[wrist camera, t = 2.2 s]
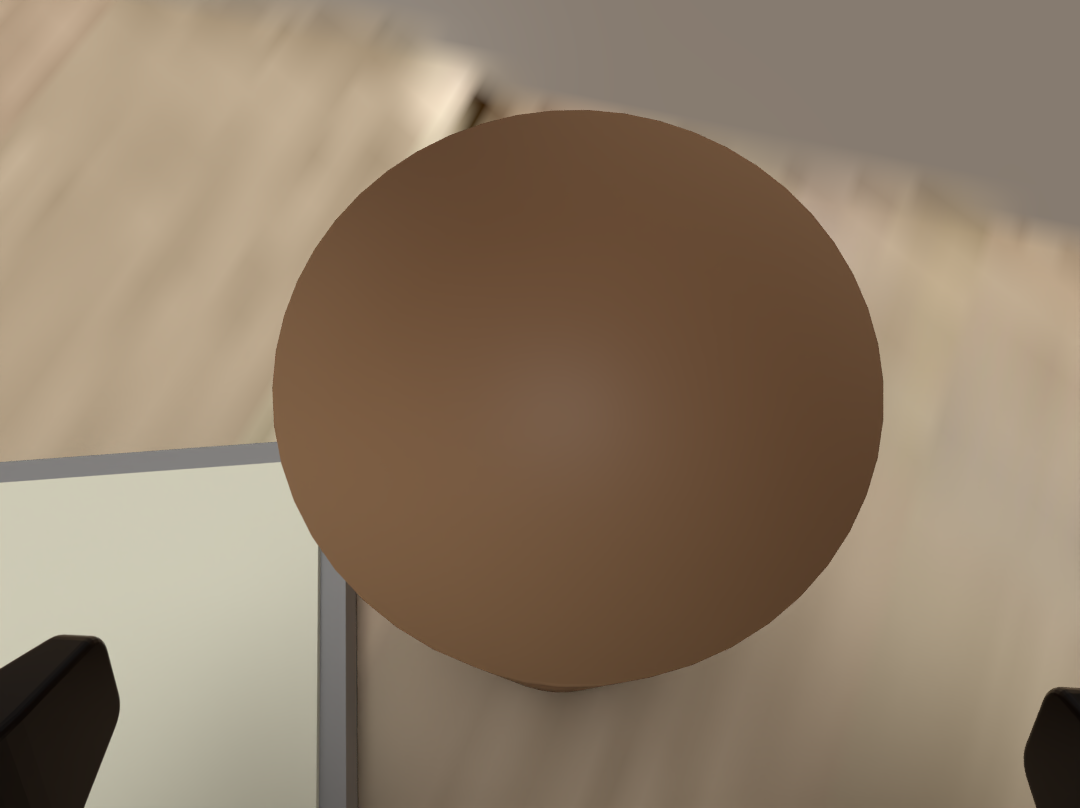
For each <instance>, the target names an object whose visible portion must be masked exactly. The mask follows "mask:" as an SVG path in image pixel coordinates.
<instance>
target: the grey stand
mask: <svg viewBox="0 0 1080 808" xmlns="http://www.w3.org/2000/svg"><path fill="white" fill-rule="evenodd" d="M63 634H67V635H87V636H96V637H98V638H100V639H101V640H102V641H103V642H104V643H105V645H106V647H107V650H108V654H109V658H110V662H111V666H112V670H113V673H114V677H115V681H116V685H117V689H118V693H119V698H120V712H119V717H118V721H117V724H116V727H115V730H114V732H113V735H112V738H111V740H110V743H109V745H108V748H107V750H106V753H105V756H104V758H103V761H102V763H101V766H100V768H99V771H98V773H97V776H96V779H95V781H94V784H93V786H92V789H91V791H90V794H89V797H88V799H87V802H86V804H85V807H84V808H358V789H357V636H356V592H355V591H354V589H353V588H352V587H351V586H350V585H349V584H348V583H347V582H346V581H345V580H344V579H343V578H342V577H341V576H340V574H339V573H338V572H337V571H336V570H335V569H334V567H333V566H332V565H331V563H330V562H329V560H328V559H327V557H326V556H325V554H324V553H323V552H322V550H321V549H320V547H319V546H318V544H317V543H316V542H315V540H314V539H313V537H312V536H311V534H310V532H309V530H308V528H307V526H306V524H305V522H304V520H303V518H302V516H301V514H300V512H299V510H298V508H297V506H296V504H295V502H294V500H293V497H292V494H291V491H290V488H289V485H288V482H287V479H286V476H285V473H284V470H283V467H282V464H281V460H280V454H279V449H278V444H277V442H268V443H255V444H241V445H228V446H214V447H200V448H187V449H173V450H159V451H146V452H132V453H118V454H105V455H91V456H78V457H64V458H50V459H37V460H23V461H9V462H0V668H2V667H3V666H5V665H7V664H8V663H10V662H11V661H13V660H15V659H16V658H18V657H20V656H21V655H23V654H25V653H26V652H28V651H30V650H31V649H33V648H35V647H36V646H38V645H39V644H41V643H43V642H44V641H46V640H48V639H50V638H52V637H54V636H57V635H63Z"/></svg>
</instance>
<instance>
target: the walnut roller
mask: <svg viewBox="0 0 1080 808" xmlns="http://www.w3.org/2000/svg"><path fill="white" fill-rule="evenodd" d="M272 389H273V411H274V428H275V433H276V438H277V444H278V449H279V454H280V460H281V464H282V467H283V470H284V473H285V476H286V479H287V482H288V485H289V488H290V491H291V494H292V497H293V500H294V502H295V504H296V506H297V508H298V510H299V512H300V514H301V516H302V518H303V520H304V522H305V524H306V526H307V528H308V530H309V532H310V534H311V536H312V537H313V539H314V540H315V542H316V543H317V544H318V546H319V547H320V549H321V550H322V552H323V553H324V554H325V556H326V557H327V559H328V560H329V562H330V563H331V565H332V566H333V567H334V569H335V570H336V571H337V572H338V573H339V574H340V576H341V577H342V578H343V579H344V580H345V581H346V582H347V583H348V584H349V585H350V586H351V587H352V588H353V589H354V591H355V592H356V593H357V594H358V595H359V596H360V597H361V598H362V599H363V600H364V601H365V602H366V603H367V604H369V605H370V606H371V607H372V608H374V609H375V610H376V611H377V612H379V613H380V614H381V615H382V616H384V617H385V618H386V619H387V620H388V621H390V622H391V623H392V624H393V625H395V626H396V627H397V628H399V629H401V630H402V631H404V632H406V633H407V634H409V635H411V636H412V637H414V638H416V639H417V640H419V641H421V642H422V643H424V644H425V645H427V646H429V647H430V648H432V649H434V650H436V651H438V652H441V653H443V654H445V655H448V656H450V657H453V658H455V659H457V660H460V661H462V662H464V663H467V664H469V665H471V666H474V667H476V668H479V669H481V670H484V671H487V672H489V673H492V674H495V675H497V676H500V677H503V678H506V679H508V680H511V681H514V682H516V683H519V684H522V685H524V686H527V687H531V688H534V689H538V690H544V691H551V692H571V691H578V690H585V689H590V688H595V687H601V686H606V685H612V684H617V683H622V682H628V681H633V680H638V679H644V678H649V677H653V676H656V675H660V674H663V673H666V672H670V671H673V670H677V669H680V668H683V667H687V666H690V665H693V664H695V663H698V662H700V661H702V660H704V659H707V658H709V657H711V656H713V655H715V654H718V653H720V652H722V651H724V650H726V649H729V648H731V647H733V646H734V645H736V644H738V643H739V642H741V641H742V640H744V639H745V638H747V637H749V636H750V635H752V634H753V633H755V632H756V631H758V630H760V629H761V628H763V627H764V626H766V625H767V624H769V623H770V622H771V621H772V620H774V619H775V618H776V617H777V616H778V615H779V614H781V613H782V612H783V611H784V610H785V609H786V608H788V607H789V606H790V605H791V604H792V603H793V602H795V601H796V600H797V599H798V598H799V597H800V596H801V595H802V594H803V593H804V592H805V591H806V590H807V588H808V587H809V586H810V585H811V584H812V583H813V582H814V580H815V579H816V578H817V577H818V576H819V575H820V574H821V573H822V571H823V570H824V569H825V568H826V567H827V566H828V564H829V563H830V561H831V560H832V558H833V557H834V555H835V553H836V552H837V550H838V549H839V547H840V546H841V544H842V543H843V541H844V540H845V538H846V537H847V535H848V533H849V532H850V530H851V528H852V526H853V523H854V521H855V519H856V517H857V515H858V513H859V510H860V508H861V506H862V504H863V502H864V500H865V497H866V495H867V492H868V489H869V485H870V482H871V478H872V475H873V472H874V468H875V465H876V461H877V458H878V452H879V445H880V438H881V431H882V424H883V376H882V369H881V362H880V354H879V347H878V342H877V338H876V335H875V331H874V328H873V324H872V321H871V317H870V314H869V310H868V307H867V305H866V303H865V300H864V298H863V296H862V293H861V291H860V289H859V286H858V284H857V282H856V279H855V277H854V275H853V273H852V271H851V270H850V268H849V266H848V265H847V263H846V261H845V260H844V258H843V256H842V255H841V253H840V251H839V250H838V248H837V246H836V245H835V243H834V242H833V240H832V239H831V238H830V236H829V235H828V234H827V233H826V231H825V230H824V229H823V228H822V226H821V225H820V224H819V222H818V221H817V220H816V219H815V217H814V216H813V215H812V214H811V213H810V212H809V211H808V210H807V209H806V208H805V207H804V206H803V205H802V204H801V203H800V202H799V201H798V200H797V199H796V198H795V197H794V196H793V195H792V194H791V193H790V192H789V191H788V190H787V189H786V188H785V187H784V186H782V185H781V184H780V183H779V182H777V181H776V180H775V179H773V178H772V177H771V176H770V175H768V174H767V173H766V172H764V171H763V170H762V169H761V168H759V167H758V166H757V165H755V164H753V163H752V162H750V161H748V160H747V159H745V158H743V157H742V156H740V155H738V154H737V153H735V152H733V151H732V150H730V149H729V148H727V147H725V146H723V145H720V144H718V143H716V142H714V141H712V140H710V139H707V138H705V137H703V136H701V135H699V134H697V133H694V132H692V131H689V130H685V129H682V128H679V127H676V126H673V125H670V124H667V123H664V122H661V121H657V120H653V119H648V118H643V117H638V116H633V115H629V114H623V113H613V112H603V111H592V110H565V111H546V112H538V113H530V114H522V115H516V116H512V117H507V118H503V119H499V120H495V121H491V122H487V123H483V124H480V125H477V126H474V127H472V128H469V129H466V130H463V131H461V132H458V133H455V134H452V135H450V136H447V137H445V138H443V139H441V140H439V141H437V142H435V143H433V144H431V145H429V146H427V147H425V148H423V149H421V150H419V151H417V152H416V153H414V154H413V155H411V156H410V157H408V158H407V159H405V160H404V161H402V162H401V163H399V164H397V165H396V166H394V167H393V168H391V169H390V170H388V171H387V172H386V173H385V174H383V175H382V176H381V177H380V178H379V179H377V180H376V181H375V182H374V183H373V184H371V185H370V186H369V187H368V188H367V189H365V190H364V191H363V192H362V193H361V194H360V195H359V196H358V197H357V198H356V199H355V200H354V201H353V202H352V203H351V204H350V205H349V206H348V207H347V209H346V210H345V211H344V212H343V213H342V214H341V215H340V216H339V217H338V218H337V219H336V220H335V222H334V223H333V225H332V226H331V227H330V229H329V230H328V231H327V233H326V234H325V236H324V237H323V238H322V240H321V241H320V243H319V244H318V245H317V247H316V248H315V250H314V251H313V253H312V255H311V257H310V259H309V261H308V262H307V264H306V266H305V268H304V270H303V272H302V274H301V275H300V277H299V279H298V281H297V283H296V286H295V289H294V291H293V294H292V296H291V299H290V302H289V304H288V307H287V310H286V312H285V315H284V319H283V323H282V327H281V332H280V336H279V340H278V344H277V349H276V356H275V366H274V377H273V387H272Z"/></svg>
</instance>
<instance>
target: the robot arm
mask: <svg viewBox="0 0 1080 808" xmlns="http://www.w3.org/2000/svg"><path fill="white" fill-rule="evenodd" d="M119 712H120V698H119V693H118V689H117V685H116V681H115V677H114V673H113V670H112V666H111V662H110V658H109V654H108V650H107V647H106V645H105V643H104V642H103V641H102V640H101V639H100V638H98V637H96V636H87V635H67V634H63V635H57V636H54V637H52V638H50V639H48V640H46V641H44V642H43V643H41V644H39V645H38V646H36V647H35V648H33V649H31V650H30V651H28V652H26V653H25V654H23V655H21V656H20V657H18V658H16V659H15V660H13V661H11V662H10V663H8V664H7V665H5V666H3V667H2V668H0V808H84V807H85V804H86V802H87V799H88V797H89V794H90V791H91V789H92V786H93V784H94V781H95V779H96V776H97V773H98V771H99V768H100V766H101V763H102V761H103V758H104V756H105V753H106V750H107V748H108V745H109V743H110V740H111V738H112V735H113V732H114V730H115V727H116V724H117V721H118V717H119ZM1024 767H1025V773H1026V777H1027V780H1028V783H1029V786H1030V790H1031V793H1032V796H1033V799H1034V802H1035V805H1036V808H1080V688H1069V687H1057V688H1053V689H1052V690H1050V691H1049V692H1048V693H1047V694H1046V696H1045V698H1044V700H1043V702H1042V705H1041V708H1040V710H1039V713H1038V715H1037V718H1036V720H1035V723H1034V725H1033V728H1032V731H1031V733H1030V736H1029V738H1028V741H1027V743H1026V746H1025V751H1024Z"/></svg>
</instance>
